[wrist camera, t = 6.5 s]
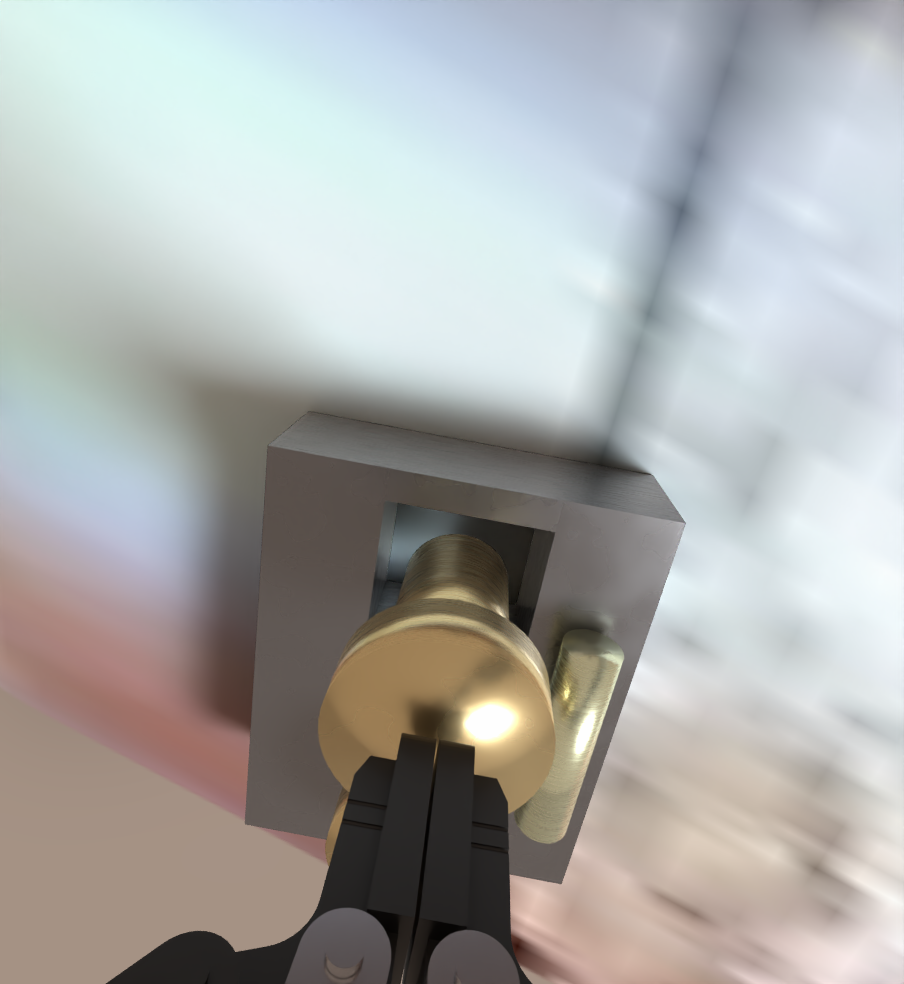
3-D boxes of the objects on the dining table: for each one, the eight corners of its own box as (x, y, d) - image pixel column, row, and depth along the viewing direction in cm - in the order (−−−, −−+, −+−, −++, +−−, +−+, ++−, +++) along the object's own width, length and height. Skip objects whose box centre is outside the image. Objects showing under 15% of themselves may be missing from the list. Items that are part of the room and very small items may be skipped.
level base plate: (308, 411, 21) (243, 466, 16) (653, 475, 21) (705, 552, 16) (280, 744, 27) (225, 868, 21) (552, 795, 27) (566, 934, 21)
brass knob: (388, 493, 18) (329, 620, 12) (553, 523, 18) (581, 667, 12) (368, 632, 20) (308, 805, 14) (518, 660, 20) (527, 847, 14)
